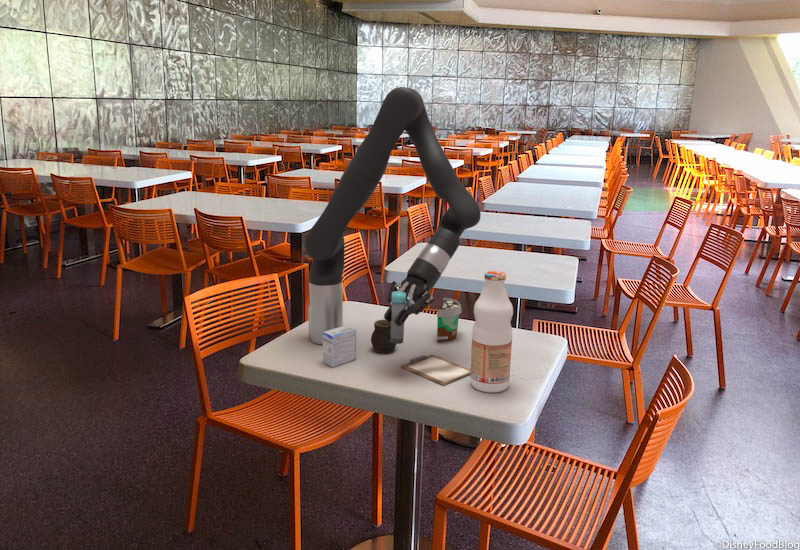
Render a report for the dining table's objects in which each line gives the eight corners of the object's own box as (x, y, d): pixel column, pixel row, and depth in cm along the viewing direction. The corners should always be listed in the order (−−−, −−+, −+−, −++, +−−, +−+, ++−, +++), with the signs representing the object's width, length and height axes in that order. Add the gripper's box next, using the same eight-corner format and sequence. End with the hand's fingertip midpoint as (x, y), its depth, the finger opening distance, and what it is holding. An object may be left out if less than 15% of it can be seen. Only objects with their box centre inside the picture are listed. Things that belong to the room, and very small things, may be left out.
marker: (387, 340, 158) (388, 292, 154) (397, 337, 160) (399, 290, 157) (396, 345, 155) (398, 296, 152) (406, 341, 158) (408, 293, 154)
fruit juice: (463, 387, 153) (467, 274, 145) (480, 373, 161) (485, 266, 153) (499, 397, 148) (505, 281, 141) (515, 382, 156) (522, 272, 148)
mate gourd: (382, 343, 180) (383, 309, 177) (403, 350, 175) (404, 315, 173) (365, 350, 175) (365, 315, 172) (386, 357, 170) (387, 322, 167)
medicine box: (346, 355, 171) (345, 324, 169) (356, 359, 168) (356, 328, 166) (322, 363, 166) (321, 331, 164) (333, 368, 163) (332, 336, 161)
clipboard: (400, 367, 164) (400, 362, 164) (432, 355, 171) (432, 351, 171) (443, 386, 153) (443, 381, 153) (474, 373, 161) (474, 368, 161)
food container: (458, 345, 179) (459, 311, 176) (436, 343, 180) (437, 310, 178) (462, 330, 191) (464, 298, 188) (442, 328, 192) (443, 297, 189)
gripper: (402, 251, 162) (364, 306, 157) (443, 263, 152) (404, 322, 148) (416, 268, 167) (380, 322, 162) (456, 281, 157) (419, 338, 153)
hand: (391, 322), depth 155 cm, fingers closed on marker, 3 cm apart
